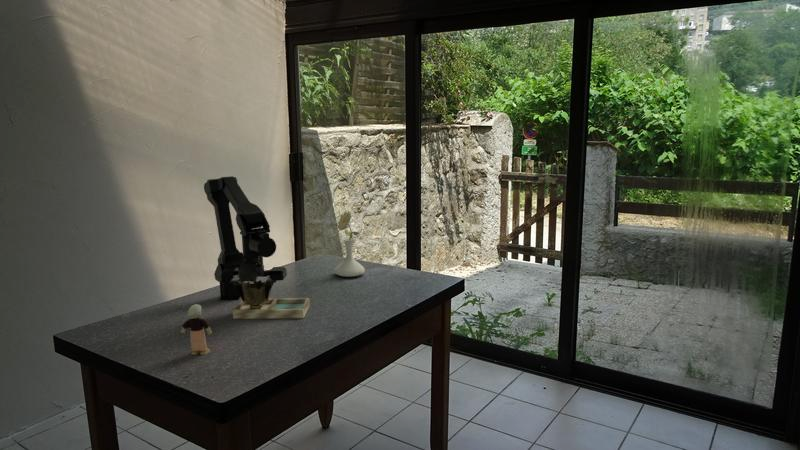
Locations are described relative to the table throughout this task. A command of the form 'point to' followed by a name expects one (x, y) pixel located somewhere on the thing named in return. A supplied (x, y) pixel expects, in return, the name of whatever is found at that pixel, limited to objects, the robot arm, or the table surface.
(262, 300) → the cup
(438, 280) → the table surface
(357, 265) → the flower in vase
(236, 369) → the table surface
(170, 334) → the table surface
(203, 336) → the grandmother figurine
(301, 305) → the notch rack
